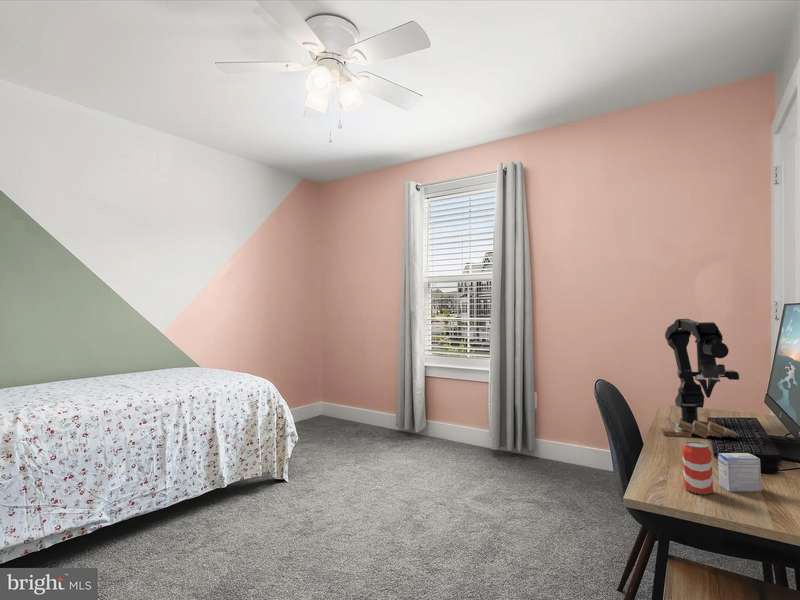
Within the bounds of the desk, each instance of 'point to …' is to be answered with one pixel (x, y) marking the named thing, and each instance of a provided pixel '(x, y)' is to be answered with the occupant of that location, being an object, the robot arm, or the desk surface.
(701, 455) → the beverage can
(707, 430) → the domino
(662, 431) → the domino
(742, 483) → the medicine box
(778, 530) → the desk surface
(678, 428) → the end domino
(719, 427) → the domino
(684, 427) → the domino
